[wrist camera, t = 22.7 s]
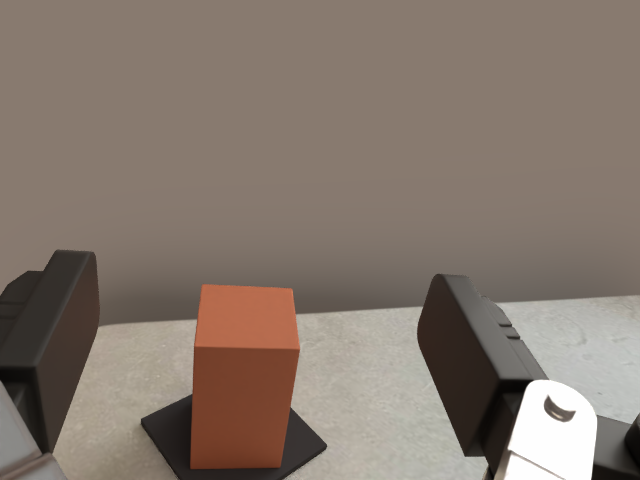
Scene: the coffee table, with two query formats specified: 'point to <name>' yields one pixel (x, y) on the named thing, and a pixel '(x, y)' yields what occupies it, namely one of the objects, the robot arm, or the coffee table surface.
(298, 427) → the felt mat
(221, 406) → the top block
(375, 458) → the coffee table surface
